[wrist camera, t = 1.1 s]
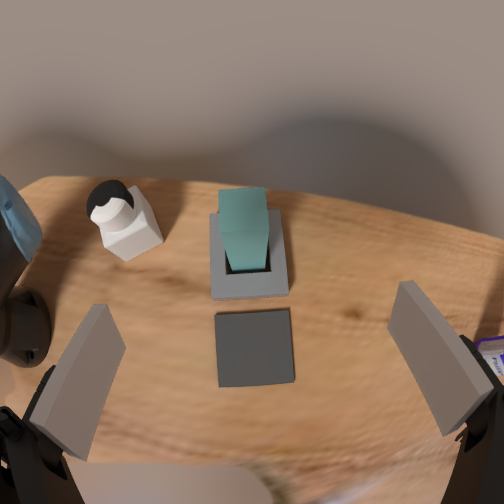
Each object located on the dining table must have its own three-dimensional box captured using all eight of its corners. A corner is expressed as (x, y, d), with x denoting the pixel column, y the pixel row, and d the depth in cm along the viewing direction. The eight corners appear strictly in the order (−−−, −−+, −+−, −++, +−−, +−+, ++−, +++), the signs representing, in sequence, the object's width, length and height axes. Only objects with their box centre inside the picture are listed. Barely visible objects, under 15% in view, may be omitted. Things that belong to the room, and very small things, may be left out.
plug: (233, 273, 38) (219, 232, 24) (231, 243, 40) (218, 189, 25) (264, 270, 38) (269, 229, 24) (262, 241, 40) (265, 186, 25)
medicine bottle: (115, 225, 41) (77, 190, 30) (151, 206, 42) (122, 164, 31) (125, 262, 39) (84, 234, 28) (165, 242, 40) (134, 206, 28)
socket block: (214, 300, 37) (211, 298, 35) (212, 221, 41) (209, 213, 38) (286, 296, 37) (289, 293, 35) (278, 216, 41) (279, 208, 39)
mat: (219, 386, 33) (218, 387, 33) (214, 315, 36) (214, 315, 36) (293, 381, 33) (294, 382, 33) (288, 310, 37) (288, 310, 36)
